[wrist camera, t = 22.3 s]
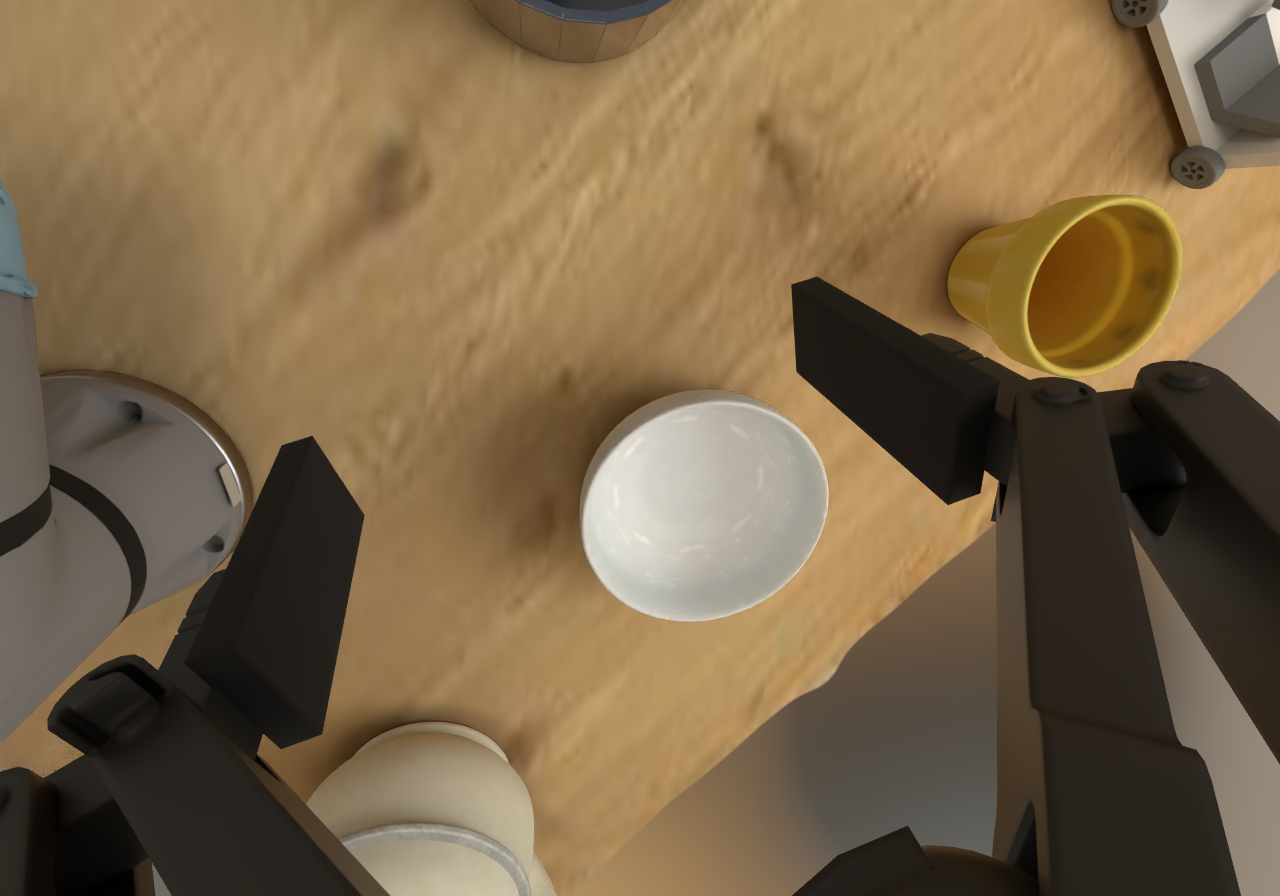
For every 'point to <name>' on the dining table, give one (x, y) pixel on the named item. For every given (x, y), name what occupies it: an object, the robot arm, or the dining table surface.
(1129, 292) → the flower pot
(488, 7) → the dark blue round tub
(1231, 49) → the toy car
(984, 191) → the dining table surface
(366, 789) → the kettle
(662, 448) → the cereal bowl
